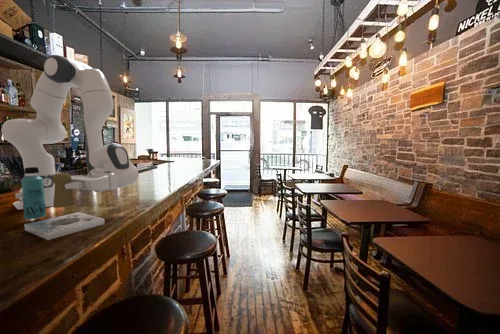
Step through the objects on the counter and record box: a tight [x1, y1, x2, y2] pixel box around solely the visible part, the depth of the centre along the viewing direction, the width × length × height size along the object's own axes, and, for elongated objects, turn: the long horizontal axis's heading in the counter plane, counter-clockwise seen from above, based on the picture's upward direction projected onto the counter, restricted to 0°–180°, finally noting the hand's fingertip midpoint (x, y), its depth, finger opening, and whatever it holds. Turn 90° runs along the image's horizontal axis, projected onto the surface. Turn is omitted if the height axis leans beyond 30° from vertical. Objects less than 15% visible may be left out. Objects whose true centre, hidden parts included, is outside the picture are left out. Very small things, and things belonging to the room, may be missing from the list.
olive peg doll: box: [52, 172, 76, 209], centre depth 89 cm, size 6×6×11 cm
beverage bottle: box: [20, 167, 47, 220], centre depth 96 cm, size 6×7×20 cm
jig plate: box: [24, 211, 105, 241], centre depth 90 cm, size 17×17×2 cm
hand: (59, 186), depth 88 cm, fingers closed on olive peg doll, 4 cm apart
